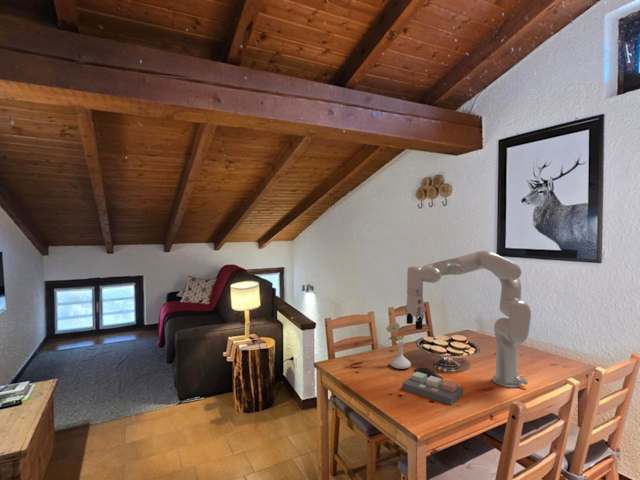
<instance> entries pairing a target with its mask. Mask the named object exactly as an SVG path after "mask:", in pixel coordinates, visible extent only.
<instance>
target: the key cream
mask: <svg viewBox="0 0 640 480" xmlns="http://www.w3.org/2000/svg"><path fill="white" fill-rule="evenodd" d="M442 381H443V380H442V379H441V378H437V377H434V376H430V377H429V378H427V379H426V384H427V385H430V386H433V387H436V388H438V387H439V386H441V385H442Z"/></svg>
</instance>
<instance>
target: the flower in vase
mask: <svg viewBox="0 0 640 480" xmlns="http://www.w3.org/2000/svg"><path fill="white" fill-rule="evenodd" d="M400 328H401V326H400V323H399V322H397V321H394V322H391V323H389V324H388V325H387V327H386V331H387V332H388V333H390V334H391V333H394V334H395V336H390V337H389V338H388V340H391V341H394V340H395V339H396V341H395V343H396V346H397V355H396V356H395V357H393V358H391V360H389V361H390V362H389V364H390V366H391V367H392V368H395V369H399V370H400V369H401V370H406V369H408V368H410V367H411V366H412V363H411V361H410V360H409V359H407V358H406V357H405V356H404V354H403V347H404V345H405V343H406V341H403V339H404V337H405V334H403V335H401V336H399V337H397V334H396V332H398V330H399V329H400Z"/></svg>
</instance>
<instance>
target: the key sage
mask: <svg viewBox="0 0 640 480" xmlns="http://www.w3.org/2000/svg"><path fill="white" fill-rule="evenodd" d="M411 377H412V380H414V381H417V382H420V383H423V382H425V381H426V379H427V374H423V373H420V372H415V371H414V373H412V374H411Z"/></svg>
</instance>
